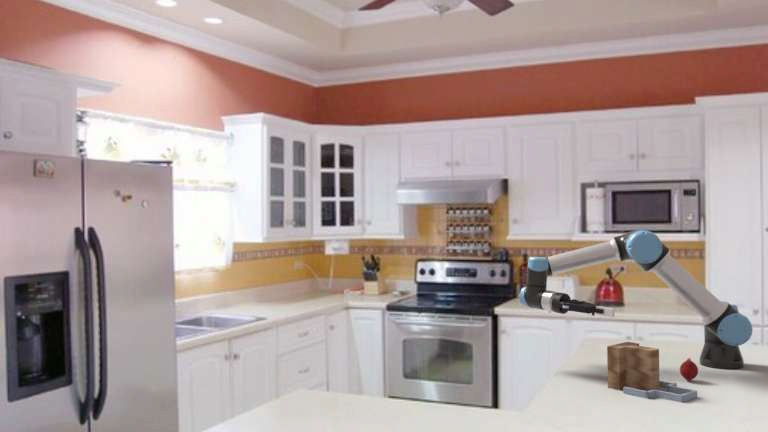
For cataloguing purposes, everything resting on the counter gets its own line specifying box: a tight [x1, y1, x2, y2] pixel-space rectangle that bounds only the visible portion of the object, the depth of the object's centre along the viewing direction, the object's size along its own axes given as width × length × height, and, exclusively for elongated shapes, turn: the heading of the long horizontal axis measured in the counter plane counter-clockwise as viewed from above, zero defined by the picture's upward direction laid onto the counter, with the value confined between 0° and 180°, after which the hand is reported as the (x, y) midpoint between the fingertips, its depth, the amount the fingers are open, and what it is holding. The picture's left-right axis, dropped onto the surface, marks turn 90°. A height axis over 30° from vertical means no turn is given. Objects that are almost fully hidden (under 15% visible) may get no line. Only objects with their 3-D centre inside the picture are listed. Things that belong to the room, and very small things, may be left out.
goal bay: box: [622, 379, 698, 403], centre depth 229 cm, size 18×17×2 cm
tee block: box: [606, 341, 660, 391], centre depth 237 cm, size 14×12×14 cm
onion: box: [679, 357, 699, 382], centre depth 246 cm, size 6×6×8 cm
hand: (613, 312), depth 245 cm, fingers closed
